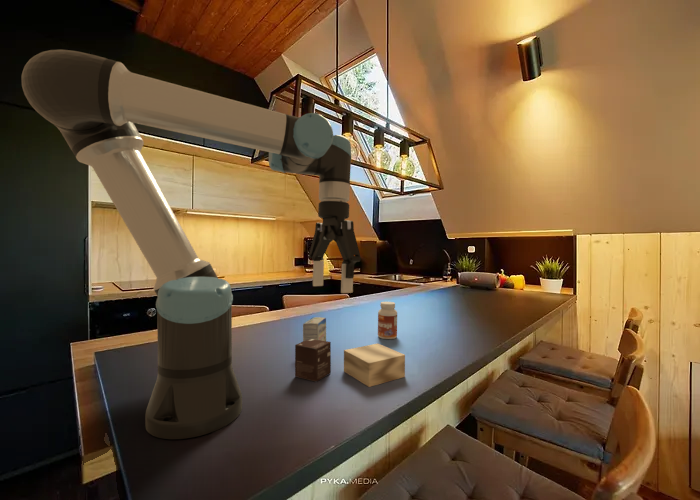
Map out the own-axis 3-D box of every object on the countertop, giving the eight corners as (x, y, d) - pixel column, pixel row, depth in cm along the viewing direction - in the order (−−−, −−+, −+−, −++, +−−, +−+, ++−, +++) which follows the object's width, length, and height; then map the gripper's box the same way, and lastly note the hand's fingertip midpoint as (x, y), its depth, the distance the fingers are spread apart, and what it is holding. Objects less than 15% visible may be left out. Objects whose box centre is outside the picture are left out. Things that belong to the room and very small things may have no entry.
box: (316, 382, 71) (316, 349, 71) (294, 377, 74) (294, 344, 74) (331, 373, 76) (331, 341, 76) (310, 368, 79) (310, 338, 79)
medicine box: (318, 356, 88) (318, 323, 87) (302, 355, 88) (302, 323, 88) (326, 347, 95) (326, 317, 95) (311, 346, 96) (311, 316, 96)
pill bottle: (374, 338, 105) (374, 303, 104) (382, 333, 110) (382, 300, 110) (393, 340, 102) (393, 305, 102) (399, 336, 107) (399, 302, 107)
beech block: (368, 387, 69) (369, 363, 69) (343, 371, 77) (343, 350, 77) (404, 376, 74) (405, 354, 74) (377, 363, 82) (377, 343, 82)
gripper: (378, 198, 72) (375, 295, 72) (322, 207, 92) (319, 283, 93) (350, 194, 68) (346, 297, 68) (297, 205, 88) (295, 284, 88)
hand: (331, 289), depth 80 cm, fingers open, 13 cm apart
